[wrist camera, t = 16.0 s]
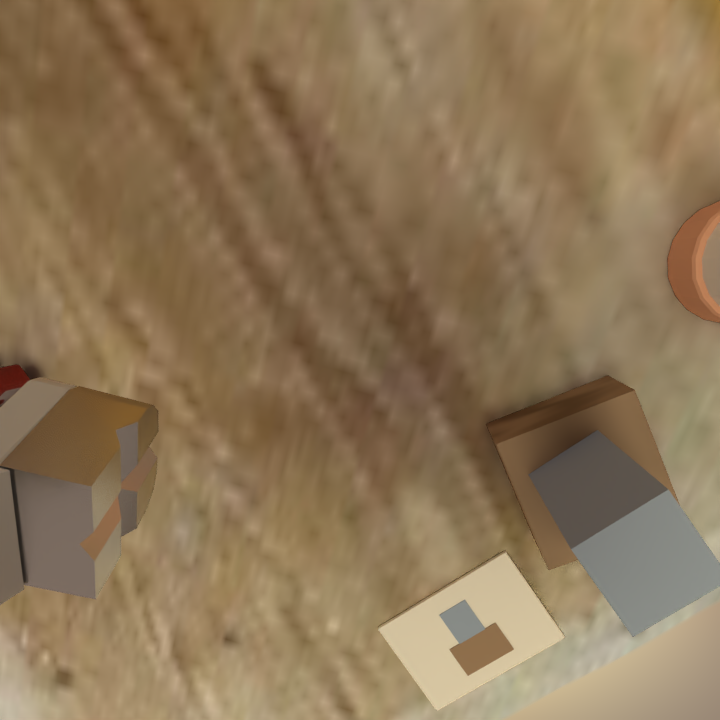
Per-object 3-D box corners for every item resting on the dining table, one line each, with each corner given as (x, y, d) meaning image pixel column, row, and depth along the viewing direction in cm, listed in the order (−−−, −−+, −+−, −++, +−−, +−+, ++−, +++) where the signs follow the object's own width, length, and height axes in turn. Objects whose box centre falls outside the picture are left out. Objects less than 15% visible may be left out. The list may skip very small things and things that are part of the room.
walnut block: (532, 534, 41) (548, 570, 36) (485, 422, 41) (496, 444, 36) (651, 489, 40) (685, 520, 35) (606, 374, 40) (634, 390, 35)
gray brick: (573, 538, 36) (632, 636, 26) (528, 474, 36) (570, 549, 26) (643, 495, 35) (731, 579, 25) (597, 429, 35) (668, 489, 25)
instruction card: (436, 707, 43) (436, 711, 43) (378, 626, 43) (377, 630, 42) (563, 635, 42) (565, 638, 42) (505, 550, 41) (506, 552, 41)
